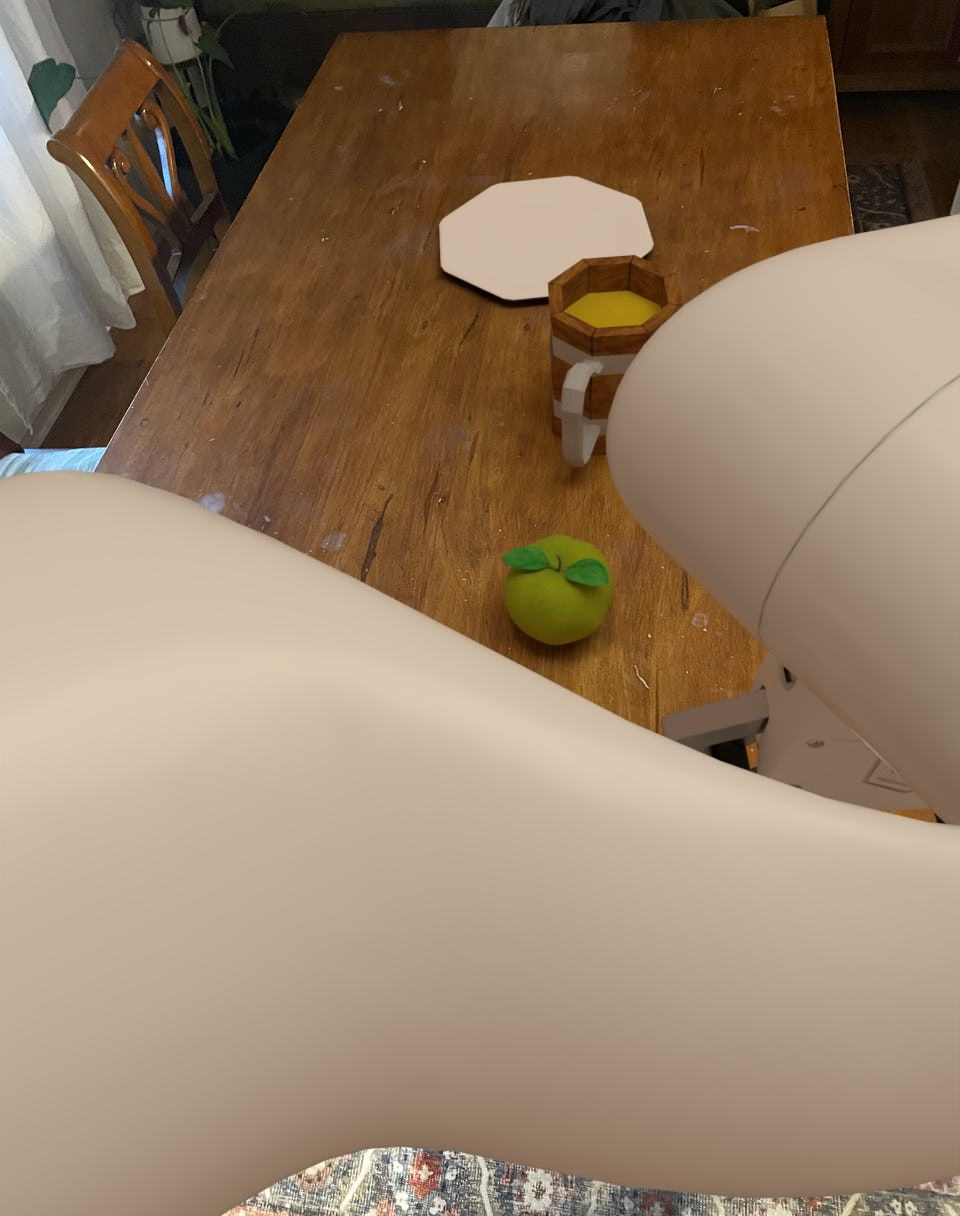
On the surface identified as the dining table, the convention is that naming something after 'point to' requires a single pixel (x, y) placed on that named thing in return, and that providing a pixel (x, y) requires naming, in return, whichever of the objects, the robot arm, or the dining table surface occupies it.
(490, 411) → the dining table surface
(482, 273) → the plate
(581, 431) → the mug
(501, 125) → the dining table surface
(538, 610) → the fruit
